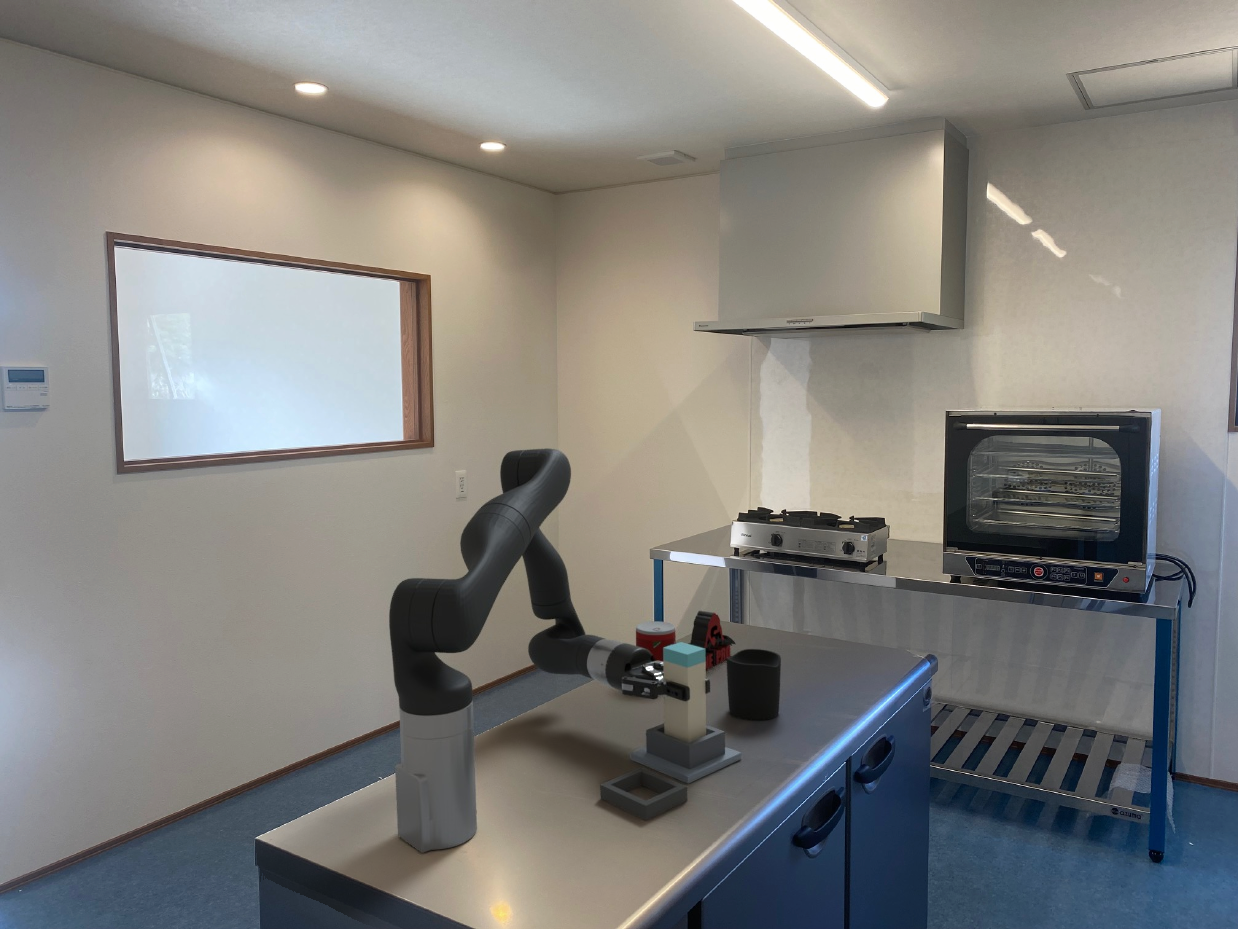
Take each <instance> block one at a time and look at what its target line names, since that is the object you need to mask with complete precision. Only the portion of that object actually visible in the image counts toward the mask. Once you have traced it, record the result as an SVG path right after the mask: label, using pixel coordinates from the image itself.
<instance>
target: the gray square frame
mask: <svg viewBox="0 0 1238 929" xmlns="http://www.w3.org/2000/svg"><path fill="white" fill-rule="evenodd" d="M641 786H643V787H645V788H647V789H650V790H652V791H654V792H657V793H658V795H655V796H653V797H651V798H649V799H647V800H645V799H643V798H641V797H638V796H636V795H634V794H632V793H630V792H628V791H631V790H633V789H635V788H638V787H641ZM599 787H600V788H599V789H600V799H601V800H603V801H604V802H607V803H609V804H610V805H613V806H615V807H617V808H619V809H622V810H623V811H625V812H628V813H629V814H632V815H634V816H636V817H638V818H639V819H642V820H644V821H648V820H650V819H652V818H654V817H656V816H658V815H660V814H663V813H665V812H666V811H669V810H671V809H673V808H675V807H677V806H679V805H682V804H683V803H686V802H687V801H688V786H686V785H684V784H682V783H681V782H680V783H679V782H677V781H675V780H672V779H670V778H667V777H666V776H663V775H661V774H658V773H656V772H654V771H651V770H648V769H647V768H644V767H638V768H636V769H634V770H631V771H629V772H626V773H624V774H621V775H620V776H617V777H615V778H613V779H610V780H609V781H608V780H607V781H605V782H603V783H601V784H600V786H599Z"/></svg>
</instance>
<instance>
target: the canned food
mask: <svg viewBox="0 0 1238 929" xmlns="http://www.w3.org/2000/svg"><path fill="white" fill-rule="evenodd" d="M676 638H677V636H676V625H674V624H673V623H670V622H668V621H667V622H665V621H644V622H641V623H638V624H637V625H636V626H635V646H638V647H641V648H645V649H647V650H649V651H650V652H651V653H652V655H653V657H654V658H655V660H656V661H663V648H664V647H667V646H670V645H673V644H677V641H676Z"/></svg>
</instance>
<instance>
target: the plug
mask: <svg viewBox="0 0 1238 929" xmlns="http://www.w3.org/2000/svg"><path fill="white" fill-rule="evenodd" d="M663 664H664V678H665V679H668V680H669V682H670V681H673V682H676V683H679V684H682V685H685V686H688V687H689V688H690V700H688V701H682V700H679V699H676V698H673V697H670V696H669V697H663V721H664V733H665V734H667V735H670V736H673V737H675V738H678V739H681V740H683V741H686V742H692V741H694V740H696V739H699V738H701V737H704V736H706V725H707V697H706V696H707V694H705V680H706V674H707V673H706V663H705V649H704V648H701V647H697V646H694V645H690V644H688V643H686V642H682V641H680V642H676V644H673V645H670V646H667V647H664V648H663Z"/></svg>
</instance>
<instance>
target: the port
mask: <svg viewBox="0 0 1238 929" xmlns="http://www.w3.org/2000/svg"><path fill="white" fill-rule="evenodd" d="M645 740H646V742H645V744H646V746H645V747H643V748H640V749H637V750H635V751H633V752H630V760H631V761H633V762H636V763H638V764H641V765H643V766H645V767H648V768H650V769H653V770H654V771H657V772H659V773H662V774H664V775H666V776H669V777H671V778H673V779H676V780H679V781H680V782H683V783H685V784H691V783H692V782H694V781H697V780H699V779H702V778H703V777H705V776H707V775H710V774H712V773H714V772H717V771H718V770H720V769H723V768H725V767H727V766H730V765H732V764H733V763H736V762H738V761H740V760H742V752H741V751H738V750H735V749H732V748H729V747H726V731H724V730H721V729H719V728H716V727H713V726H710V725H709V724H708V725H707V724H706V736H704V737H701V738H699V739H696V740H694V741H692V742H686V741H683V740H681V739H678V738H675V737H673V736H670V735H667V734H665V733H664V723H661V724H659V725H655V726H654V727H650V728H648V729H646V730H645Z"/></svg>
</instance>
